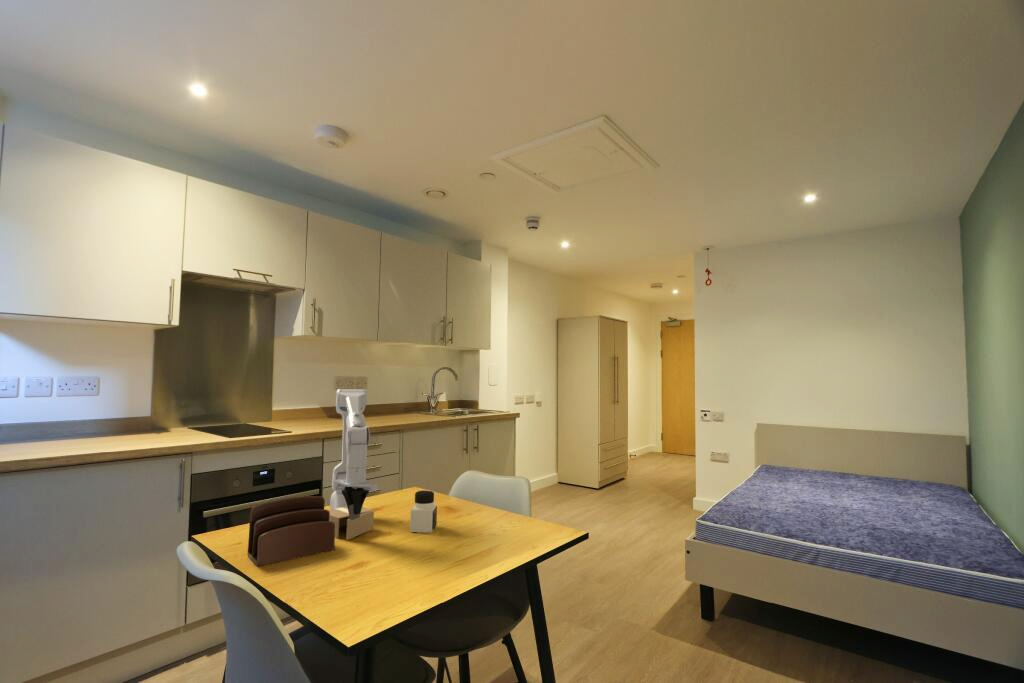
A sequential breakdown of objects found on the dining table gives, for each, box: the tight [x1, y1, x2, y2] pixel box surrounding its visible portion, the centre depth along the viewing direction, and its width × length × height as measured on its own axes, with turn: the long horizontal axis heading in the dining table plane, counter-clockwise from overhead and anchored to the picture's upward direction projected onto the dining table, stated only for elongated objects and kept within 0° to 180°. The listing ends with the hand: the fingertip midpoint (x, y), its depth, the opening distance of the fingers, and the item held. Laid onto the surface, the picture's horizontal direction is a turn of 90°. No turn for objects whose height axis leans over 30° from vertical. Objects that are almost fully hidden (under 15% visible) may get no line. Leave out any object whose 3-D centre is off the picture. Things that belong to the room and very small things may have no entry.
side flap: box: [345, 504, 375, 541], centre depth 150 cm, size 2×12×10 cm, turn 157°
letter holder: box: [247, 495, 336, 567], centre depth 134 cm, size 10×20×14 cm, turn 131°
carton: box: [329, 506, 374, 539], centre depth 154 cm, size 10×12×6 cm
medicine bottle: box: [409, 489, 438, 534], centre depth 156 cm, size 7×7×12 cm
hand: (354, 513), depth 147 cm, fingers closed on side flap, 2 cm apart
